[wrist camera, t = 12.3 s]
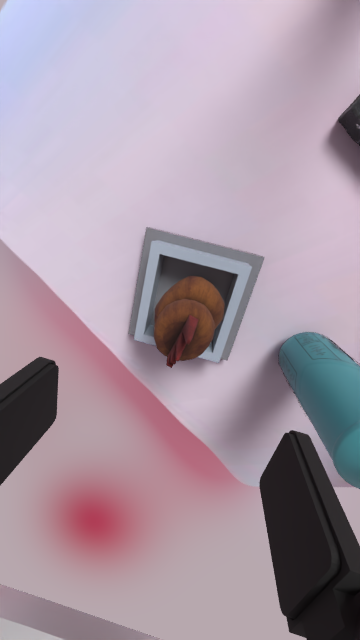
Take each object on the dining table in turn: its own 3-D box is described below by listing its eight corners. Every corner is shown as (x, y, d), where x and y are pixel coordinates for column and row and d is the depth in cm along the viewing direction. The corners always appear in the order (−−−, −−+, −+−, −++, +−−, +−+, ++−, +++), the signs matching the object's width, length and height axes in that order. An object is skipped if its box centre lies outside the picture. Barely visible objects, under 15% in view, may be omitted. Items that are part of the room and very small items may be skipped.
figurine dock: (261, 255, 26) (271, 260, 22) (226, 354, 31) (229, 373, 27) (149, 227, 27) (138, 226, 23) (132, 329, 31) (119, 344, 27)
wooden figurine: (198, 260, 26) (184, 292, 12) (231, 299, 27) (253, 371, 13) (155, 298, 28) (99, 363, 14) (186, 333, 29) (164, 426, 15)
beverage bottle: (264, 360, 31) (347, 557, 12) (289, 316, 28) (442, 476, 10) (310, 378, 31) (464, 601, 12) (340, 335, 28) (589, 531, 10)
